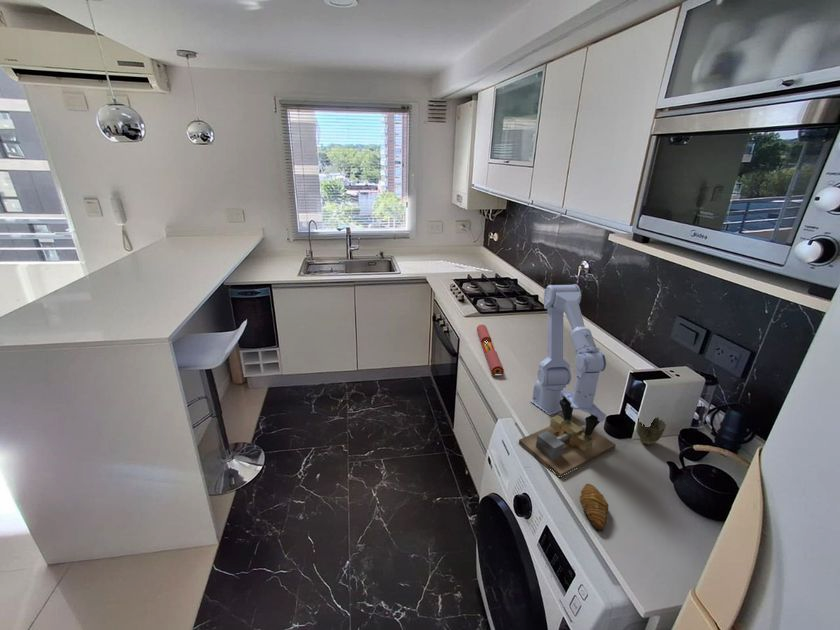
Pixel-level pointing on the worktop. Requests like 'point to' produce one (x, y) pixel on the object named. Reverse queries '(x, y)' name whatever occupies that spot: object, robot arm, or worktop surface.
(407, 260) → the worktop surface
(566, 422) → the tan wooden bar
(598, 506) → the croissant
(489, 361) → the pink labeled cylinder
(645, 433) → the olive green lumpy piece
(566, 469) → the rod base
